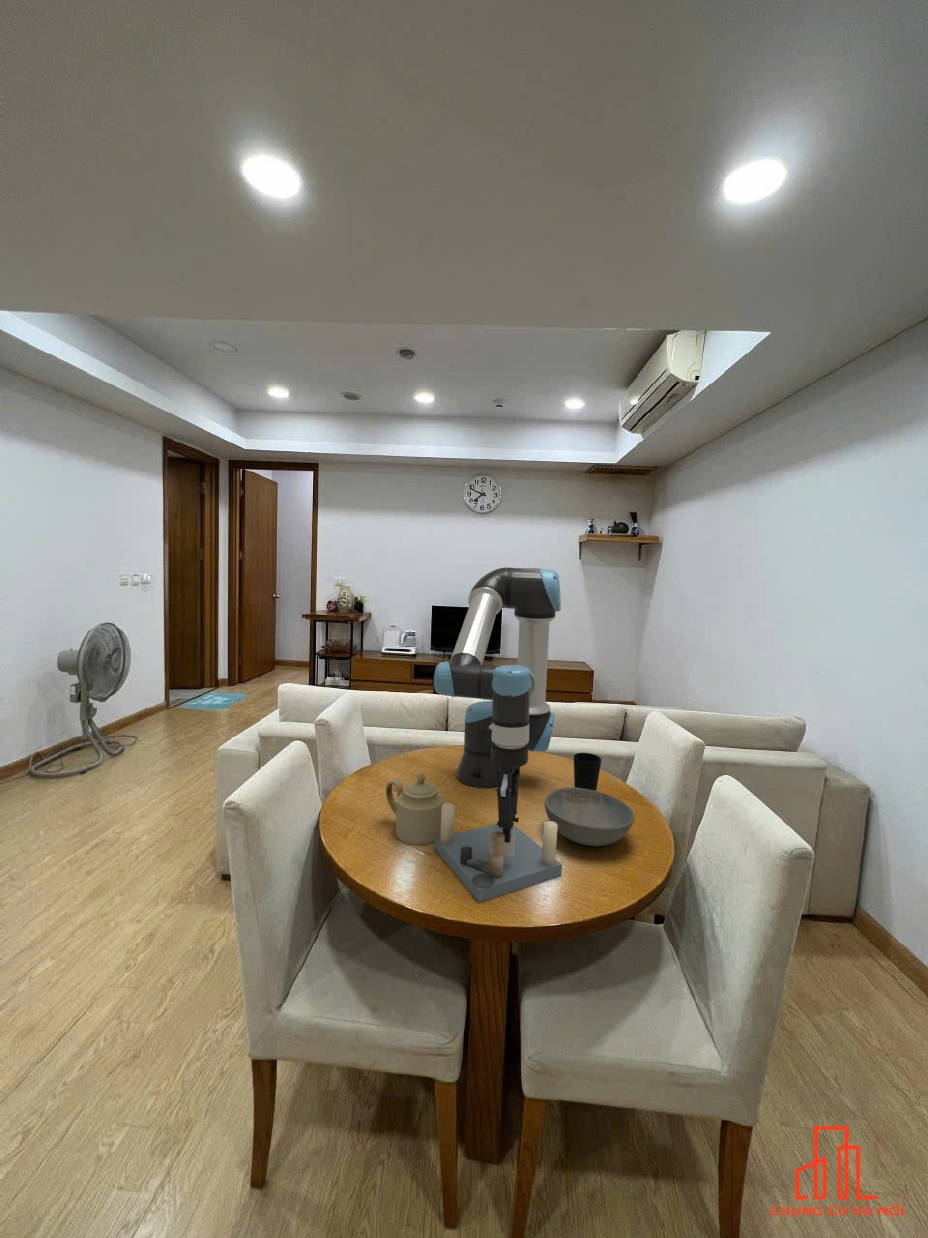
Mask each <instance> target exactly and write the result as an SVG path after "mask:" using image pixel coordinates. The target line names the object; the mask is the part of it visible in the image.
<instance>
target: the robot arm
mask: <svg viewBox="0 0 928 1238" xmlns="http://www.w3.org/2000/svg"><path fill="white" fill-rule="evenodd" d="M560 584H561V583H560V578H559V574H558V572H557V571H556V570H554V569H547V568H543V567H540V568H538V567H537V568H535V567H533V568H531V567H527V568H526V567H500V568H496V569H493V570H492V571H490V572H488V573H486V574H485V575H483V576H482V577H481V578H480V579H479V580H478V581H477V582H475V584H474V585H473V587H472V588H471V590H470V593H469V596H468V600H467V601H468V606H469V607H468V610H467V612H466V615H465V617H464V620H463V623H462V627H461V629H460V631H459V634H458V638H457V640H456V644H455V647H454V649H453V652H452V654H451V656H450V657H451V658H450V661H442V662H439V663H438V664H437V665H436V667H435V670H434V675H433V686H434V690H435V692H436V693H437V694H439V695H442V696H447V697H452V698H455V697H456V698H465V699H466V698H469V699H480V700H484V701H478V702H474V703H471V704H470V705H468V706H467V707H466V709H465V717H464V735H463V736H464V738H463V753H462V756H461V758H460V761H459V763H458V767H457V769H456V771H457V772H456V773H457V774H456V778H457V779H458V781H459V782H461V783H462V784H465V785H468V786H470V787H474V788H475V787H476V788H494V787H496V796H497V810H498V812H497V815H498V820H497V822H496V824H497V825H498V826H499V827H501V832H502V833H503V834H504V835H505V840H504V855H505V856H511V857H513V856H514V842H515V826H516V823H519V819H520V818H519V817H516V815H517V814H518V810H517V809H518V798H519V797H518V795H519V785H520V784H519V780H520V776H521V767H524V766H526V765H527V764H528V762H529V752H531V753H533V752H541V753H543V752H546V751H548V750H549V747H550V743H551V739H552V734H553V727H554V724H555V723H554V721H555V717H556V716H555V715H556V714H555V713H553V712H552V711H551V705H550V704H549V703H547V701H546V696H547V695H546V694H547V680H548V679H547V677H548V676H547V675H548V661H549V659H548V657H549V642H550V641H549V640H550V639H549V636H550V624H551V622H552V621H553V620H554V619H555V618H556V612H557V613H558V612H560V611H561V609H562V604H561V603H562V601H561V600H562V599H561V587H560V586H561V585H560ZM502 609H513V610H514V612H513V613H514V614H513V615H514V617H515V619H517V620H518V623H519V624H518V646H517V647H518V648H517V664H515V665H514V664H513V665H512V664H510V665H509V664H507V665H501V666H496V665H495V666H494V665H484V664H483V663H484V659H485V658H486V657H485V656H486V652H487V649H488V645H489V641H490V638H491V634H492V631H493V627H494V624H495V620H496V617H497V616H496V615H498V614H499V613H500V612H501V610H502Z"/></svg>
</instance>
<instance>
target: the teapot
mask: <svg viewBox="0 0 928 1238" xmlns="http://www.w3.org/2000/svg"><path fill="white" fill-rule="evenodd" d="M425 780H426V775H425V774H424V772H419V773H418V774H417V777H416V781H411V782H410V783H409V784H407V785H405V786H404V787H403V784H402V782H401V781H400V780H398V779H392V780H390V781H389V782H388V783H387V784H386V787H385V795H386V801H387V803H388V805H389V808H390V809H391V810H392V812H393V814H394V815H395V835H396V837H397V839H398V840H399V841H401V842H403V843H406V844H408V845H413V846H424V845H429V844H432V843H435V838H439V837H441V814H442V804H444V798H443V796H442V795H441V794H440V793H439V788H438V787H437V786H436V785H434V784H433V783H431V782H429V781H425ZM393 786H394V787H395V789H396V794H397V798H396V800H395V798H394V794H393Z"/></svg>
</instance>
